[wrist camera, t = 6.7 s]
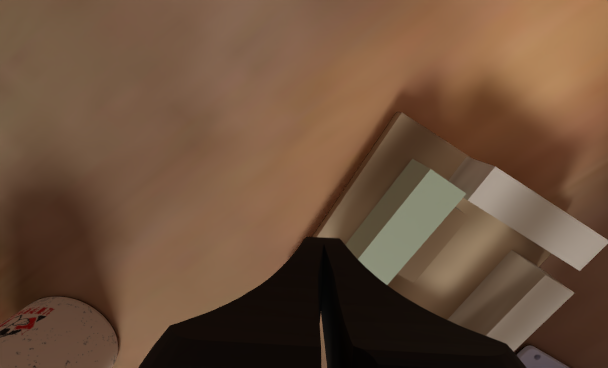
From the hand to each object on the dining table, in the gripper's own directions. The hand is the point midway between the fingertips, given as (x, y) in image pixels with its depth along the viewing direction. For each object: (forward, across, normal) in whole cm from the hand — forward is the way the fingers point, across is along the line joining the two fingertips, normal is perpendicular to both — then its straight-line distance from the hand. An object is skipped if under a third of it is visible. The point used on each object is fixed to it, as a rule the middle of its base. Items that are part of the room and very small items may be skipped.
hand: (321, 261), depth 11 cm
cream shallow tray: (+10, -7, +4) cm, 13 cm away
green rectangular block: (+8, -4, +2) cm, 10 cm away
